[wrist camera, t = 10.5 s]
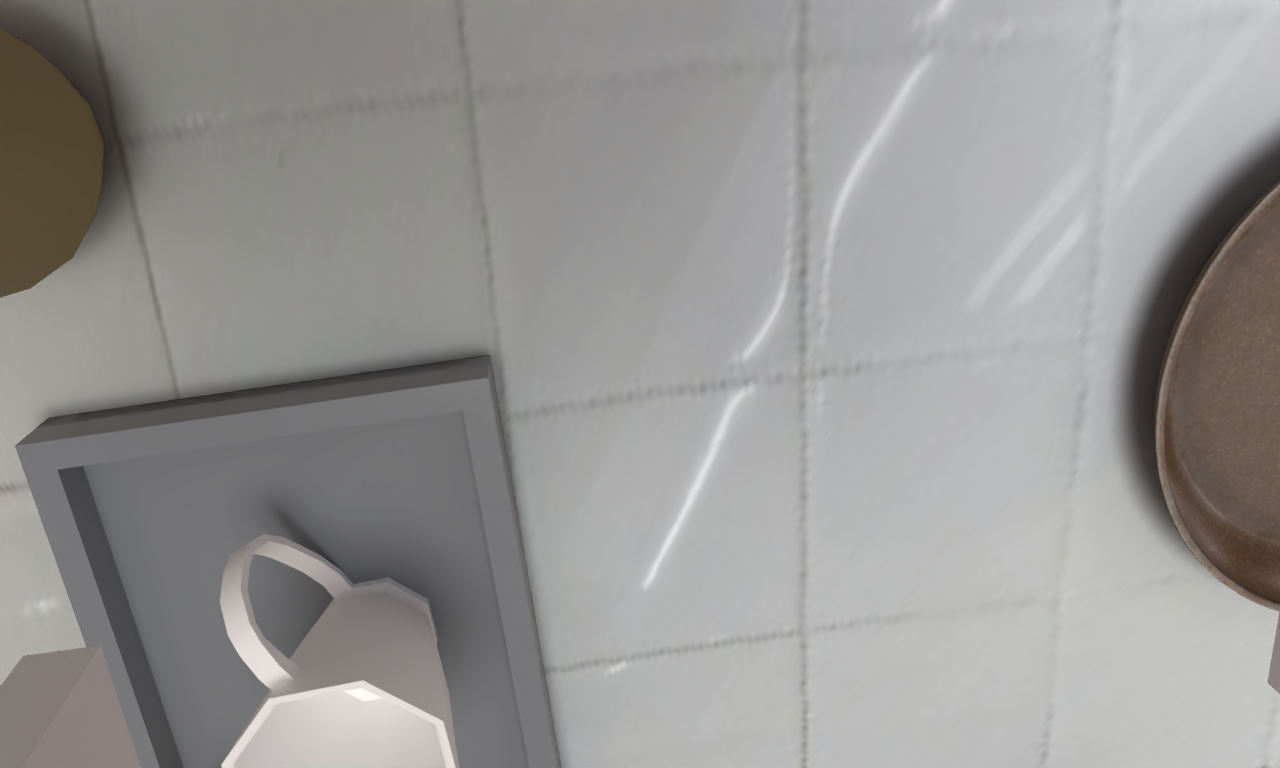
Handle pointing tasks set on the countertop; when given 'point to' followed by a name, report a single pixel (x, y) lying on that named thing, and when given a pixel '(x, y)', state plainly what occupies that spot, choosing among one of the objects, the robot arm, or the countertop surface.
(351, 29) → the countertop surface
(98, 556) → the tray
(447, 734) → the cup
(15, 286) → the squeeze bottle
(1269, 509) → the plant saucer
